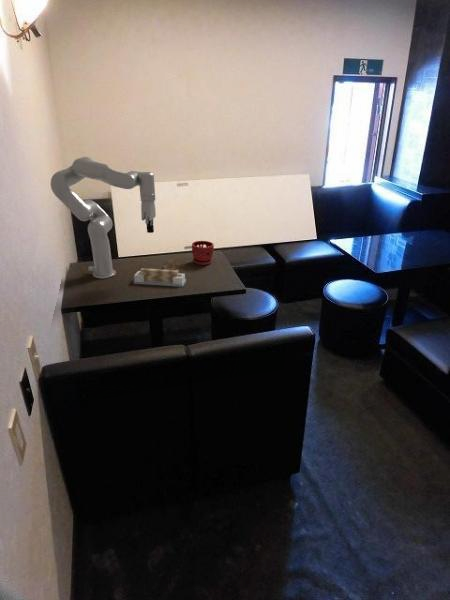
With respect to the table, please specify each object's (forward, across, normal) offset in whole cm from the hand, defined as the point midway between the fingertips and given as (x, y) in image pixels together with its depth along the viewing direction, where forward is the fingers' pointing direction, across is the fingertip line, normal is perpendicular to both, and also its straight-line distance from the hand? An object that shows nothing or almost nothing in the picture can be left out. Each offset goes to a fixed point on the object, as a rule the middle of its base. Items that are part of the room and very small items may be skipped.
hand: (150, 232), depth 216 cm
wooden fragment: (+26, -16, +6) cm, 31 cm away
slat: (+24, +8, +6) cm, 26 cm away
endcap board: (+25, +8, +6) cm, 27 cm away
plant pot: (+25, -26, +23) cm, 43 cm away
